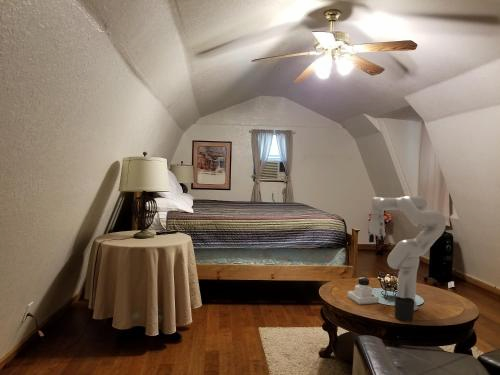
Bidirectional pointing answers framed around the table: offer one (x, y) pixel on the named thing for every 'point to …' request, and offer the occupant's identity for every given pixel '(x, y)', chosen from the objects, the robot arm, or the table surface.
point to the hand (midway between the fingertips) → (375, 243)
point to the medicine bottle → (363, 288)
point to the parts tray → (362, 300)
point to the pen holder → (404, 308)
